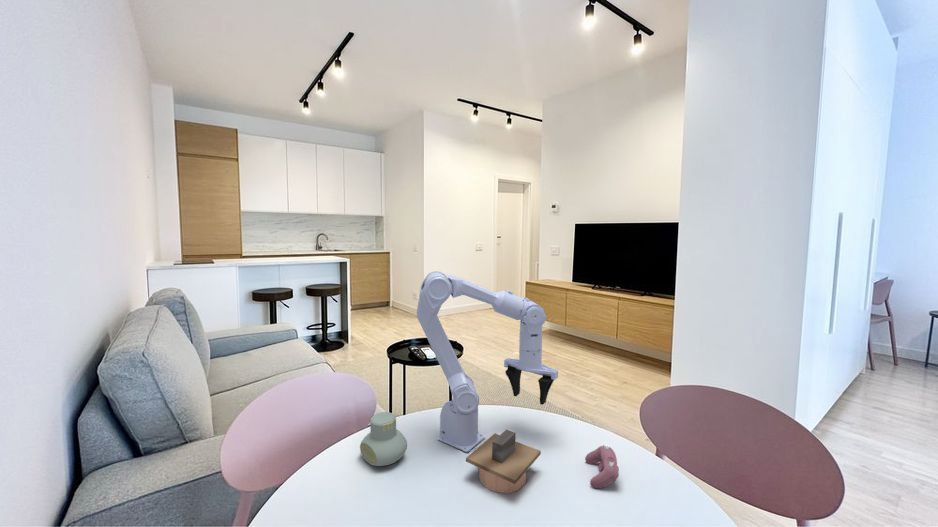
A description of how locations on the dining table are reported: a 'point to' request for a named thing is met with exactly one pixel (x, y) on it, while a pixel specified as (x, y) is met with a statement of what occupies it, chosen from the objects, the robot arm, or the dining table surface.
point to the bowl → (500, 482)
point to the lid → (504, 456)
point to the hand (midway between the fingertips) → (529, 398)
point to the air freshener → (383, 441)
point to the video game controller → (603, 466)
